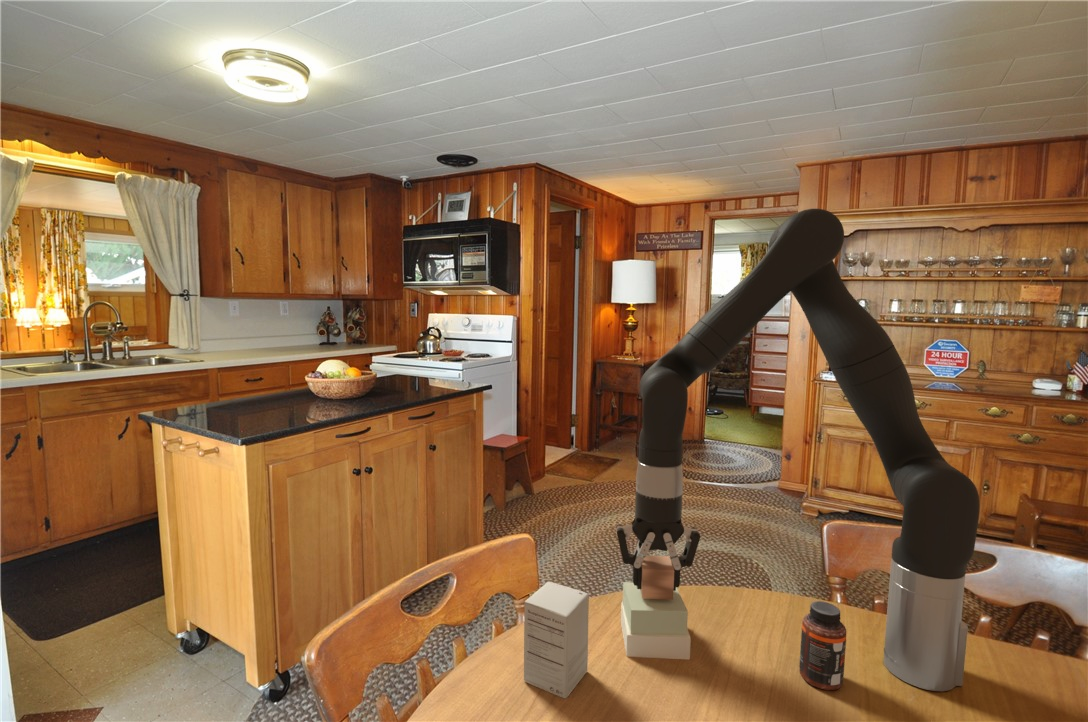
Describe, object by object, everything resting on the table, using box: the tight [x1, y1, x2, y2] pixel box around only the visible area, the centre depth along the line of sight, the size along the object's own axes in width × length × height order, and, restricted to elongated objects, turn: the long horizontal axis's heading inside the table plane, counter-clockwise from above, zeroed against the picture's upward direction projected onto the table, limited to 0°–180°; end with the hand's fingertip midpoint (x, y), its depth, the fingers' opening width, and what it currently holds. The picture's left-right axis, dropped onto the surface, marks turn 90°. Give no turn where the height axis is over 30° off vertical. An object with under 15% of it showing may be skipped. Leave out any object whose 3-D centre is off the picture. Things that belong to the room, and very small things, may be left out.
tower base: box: [620, 601, 692, 660], centre depth 91 cm, size 10×10×4 cm
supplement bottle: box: [799, 600, 847, 691], centre depth 81 cm, size 6×6×11 cm
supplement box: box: [523, 581, 590, 699], centre depth 81 cm, size 7×7×13 cm
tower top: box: [622, 581, 689, 635], centre depth 91 cm, size 9×9×4 cm
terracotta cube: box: [640, 554, 674, 600], centre depth 90 cm, size 5×5×5 cm
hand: (655, 587), depth 91 cm, fingers closed on terracotta cube, 5 cm apart
